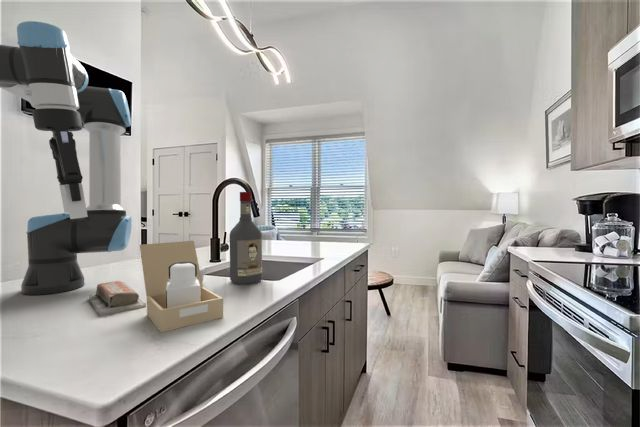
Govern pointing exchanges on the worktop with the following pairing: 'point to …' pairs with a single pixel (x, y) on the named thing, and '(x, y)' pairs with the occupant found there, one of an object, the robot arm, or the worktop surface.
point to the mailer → (157, 276)
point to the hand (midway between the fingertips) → (75, 214)
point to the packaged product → (115, 298)
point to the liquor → (245, 246)
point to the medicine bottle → (182, 285)
